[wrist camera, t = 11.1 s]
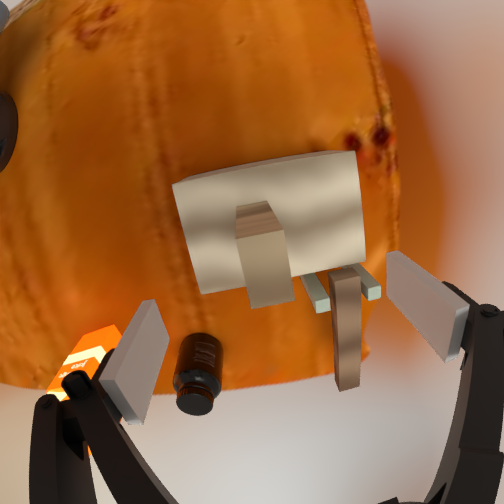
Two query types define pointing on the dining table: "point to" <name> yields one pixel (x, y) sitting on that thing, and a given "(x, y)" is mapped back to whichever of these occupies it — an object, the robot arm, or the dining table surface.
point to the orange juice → (86, 357)
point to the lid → (272, 224)
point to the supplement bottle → (198, 374)
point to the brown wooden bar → (346, 326)
